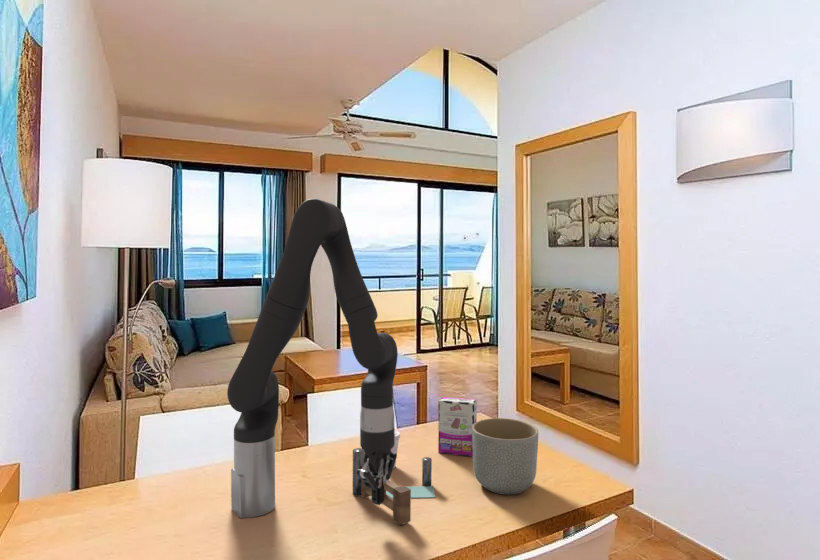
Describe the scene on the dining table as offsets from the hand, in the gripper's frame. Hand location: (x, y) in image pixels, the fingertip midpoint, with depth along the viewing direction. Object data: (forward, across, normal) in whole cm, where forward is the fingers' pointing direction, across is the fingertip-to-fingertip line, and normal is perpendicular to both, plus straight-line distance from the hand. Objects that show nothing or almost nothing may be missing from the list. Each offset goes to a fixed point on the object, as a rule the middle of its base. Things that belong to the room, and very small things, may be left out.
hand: (378, 502), depth 110 cm
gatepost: (+5, +11, +13) cm, 18 cm away
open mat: (+6, +17, +4) cm, 18 cm away
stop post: (+6, +24, 0) cm, 24 cm away
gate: (+5, +7, +3) cm, 9 cm away
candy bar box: (+6, +48, +3) cm, 49 cm away
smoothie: (+6, +28, +15) cm, 33 cm away
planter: (+6, +34, -17) cm, 38 cm away
